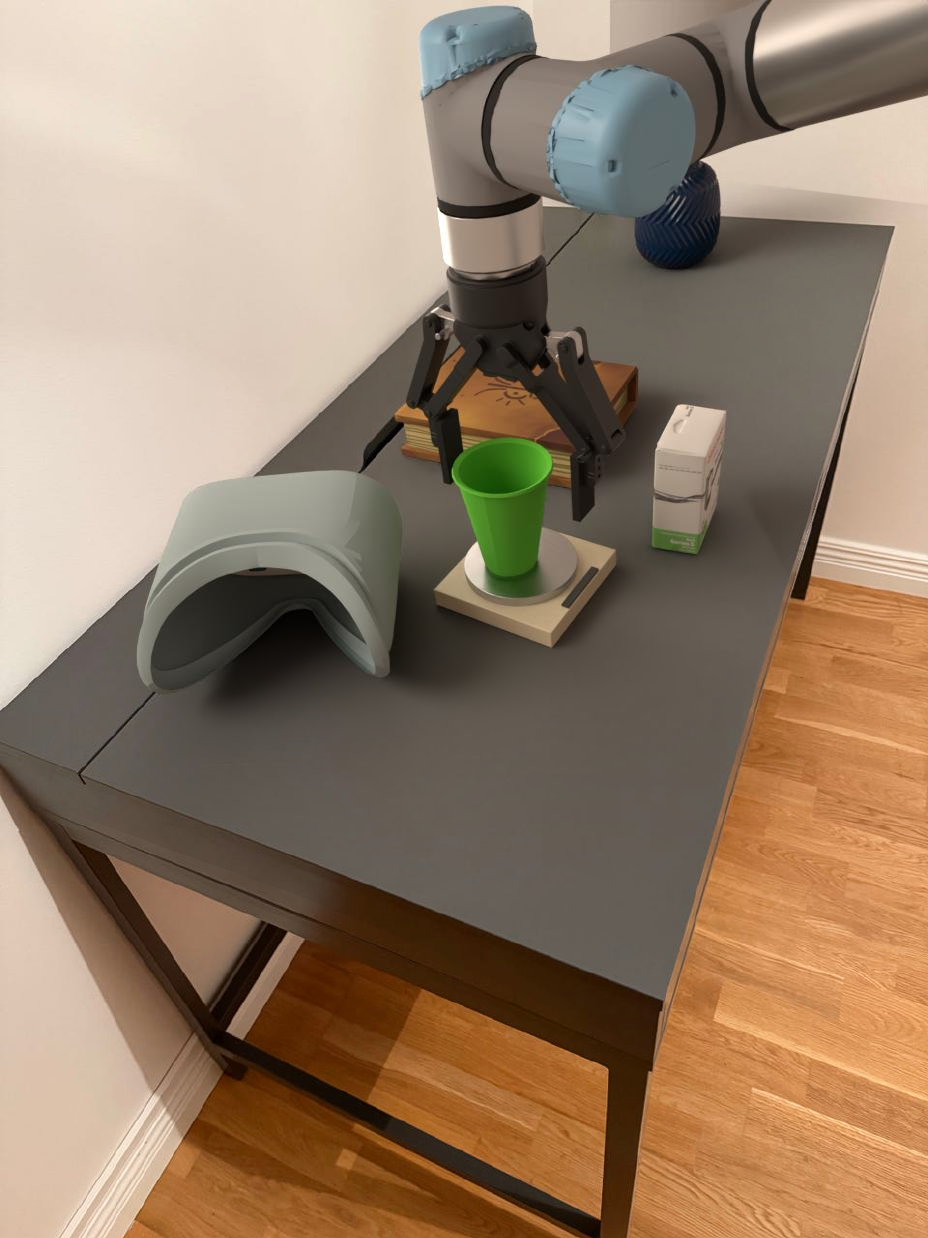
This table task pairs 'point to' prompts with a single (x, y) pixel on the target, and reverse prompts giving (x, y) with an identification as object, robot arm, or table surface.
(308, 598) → the grey arched shell
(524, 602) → the scale pan
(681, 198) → the lamp
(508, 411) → the diary
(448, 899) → the table surface
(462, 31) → the robot arm
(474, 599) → the scale
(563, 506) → the table surface
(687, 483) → the ink box
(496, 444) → the cup
